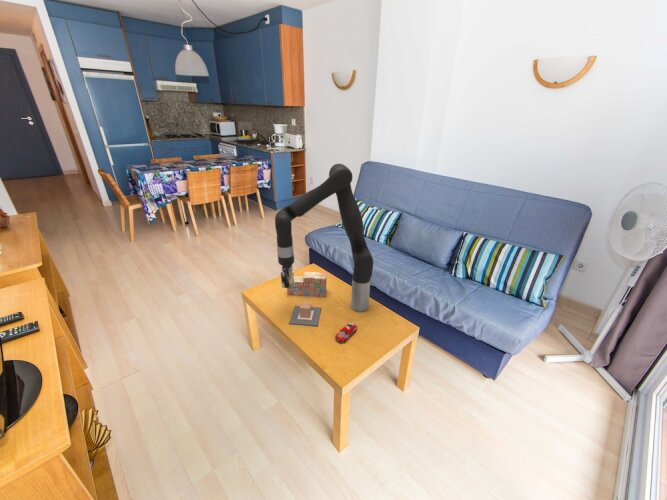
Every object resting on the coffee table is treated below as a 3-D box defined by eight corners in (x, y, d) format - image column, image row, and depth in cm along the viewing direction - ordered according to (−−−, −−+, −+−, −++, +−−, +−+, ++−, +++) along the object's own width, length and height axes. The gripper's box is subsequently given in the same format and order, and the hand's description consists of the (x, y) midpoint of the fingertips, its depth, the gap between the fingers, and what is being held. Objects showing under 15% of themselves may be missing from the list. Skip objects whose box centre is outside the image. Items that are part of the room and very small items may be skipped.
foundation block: (311, 312, 153) (311, 302, 150) (309, 318, 148) (309, 308, 145) (301, 311, 153) (301, 301, 150) (299, 317, 149) (299, 307, 146)
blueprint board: (321, 308, 157) (321, 307, 156) (317, 326, 144) (317, 325, 144) (294, 306, 158) (294, 305, 157) (289, 324, 145) (289, 322, 145)
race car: (342, 345, 134) (342, 339, 132) (332, 340, 137) (332, 333, 135) (358, 330, 143) (359, 323, 141) (349, 325, 146) (350, 318, 144)
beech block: (294, 282, 149) (293, 272, 146) (291, 288, 144) (291, 277, 142) (284, 282, 149) (283, 271, 147) (281, 287, 145) (280, 277, 142)
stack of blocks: (287, 295, 167) (286, 276, 161) (289, 289, 173) (288, 270, 167) (325, 297, 166) (325, 278, 160) (326, 291, 171) (326, 272, 166)
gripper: (290, 261, 132) (292, 293, 140) (296, 247, 145) (298, 277, 153) (273, 260, 133) (276, 292, 140) (281, 246, 146) (284, 276, 153)
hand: (288, 284), depth 146 cm, fingers closed on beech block, 5 cm apart
